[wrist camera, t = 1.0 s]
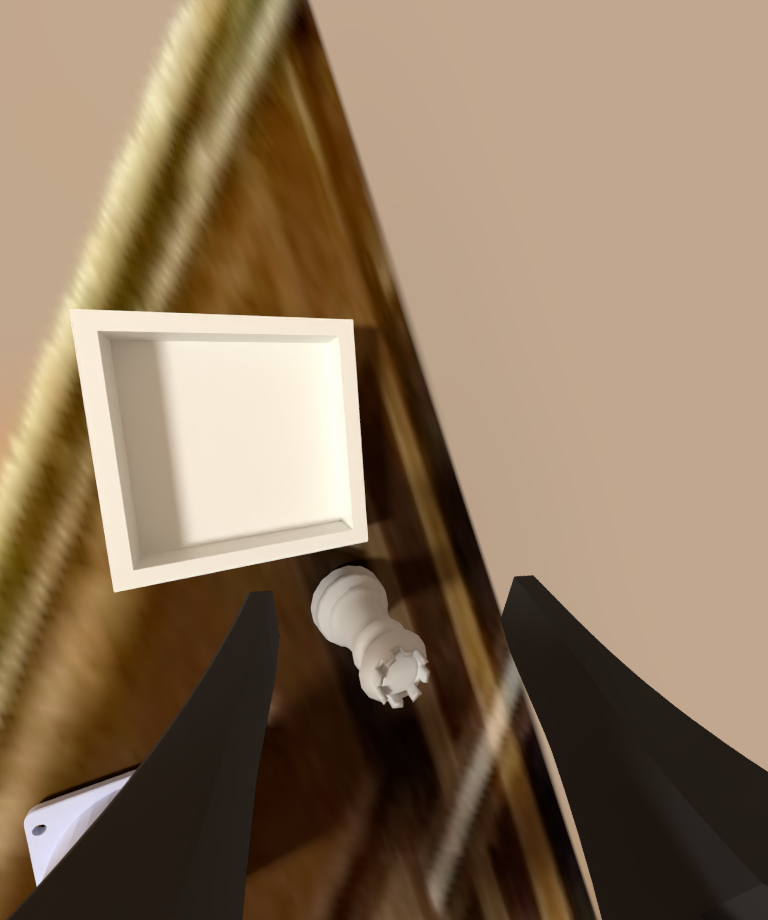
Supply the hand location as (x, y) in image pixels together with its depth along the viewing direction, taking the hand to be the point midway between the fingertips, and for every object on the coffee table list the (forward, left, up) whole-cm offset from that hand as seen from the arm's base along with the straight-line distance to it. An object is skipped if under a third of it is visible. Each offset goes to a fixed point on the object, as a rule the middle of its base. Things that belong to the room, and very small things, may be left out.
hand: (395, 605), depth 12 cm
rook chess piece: (-5, -2, -12) cm, 13 cm away
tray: (+5, +3, -11) cm, 13 cm away
